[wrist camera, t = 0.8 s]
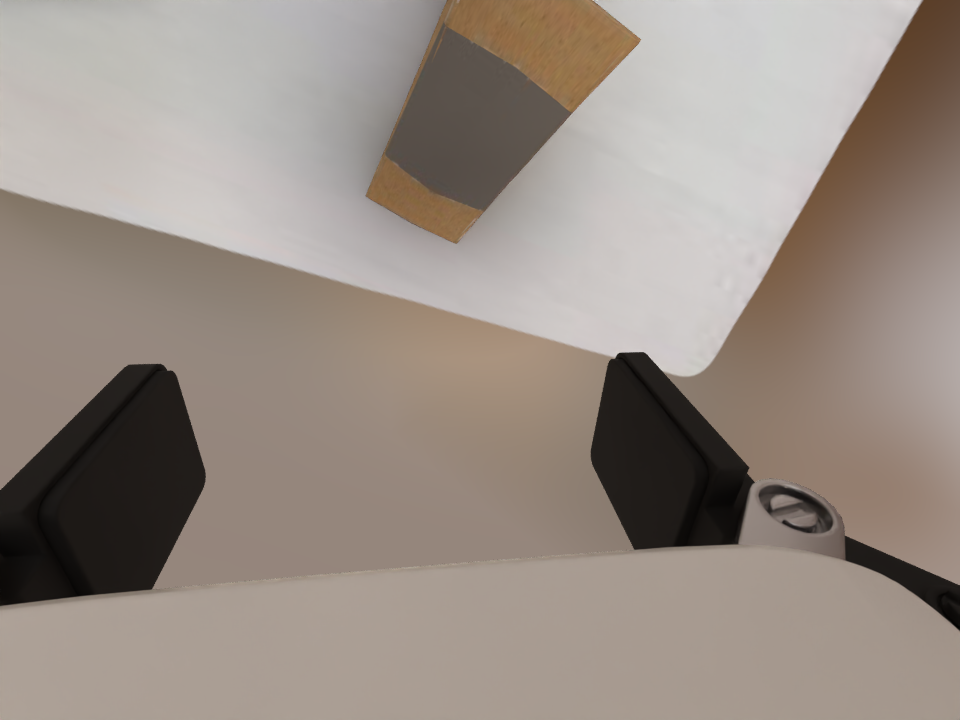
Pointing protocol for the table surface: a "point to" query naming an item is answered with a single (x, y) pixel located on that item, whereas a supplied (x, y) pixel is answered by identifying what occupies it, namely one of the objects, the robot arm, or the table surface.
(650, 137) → the table surface
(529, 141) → the sandwich container
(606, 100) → the table surface
